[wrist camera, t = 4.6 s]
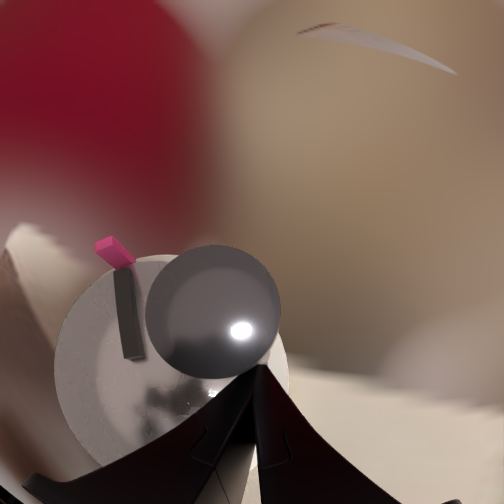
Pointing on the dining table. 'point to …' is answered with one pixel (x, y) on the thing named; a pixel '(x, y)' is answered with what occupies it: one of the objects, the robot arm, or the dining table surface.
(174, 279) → the capstan dial
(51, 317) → the dining table surface
